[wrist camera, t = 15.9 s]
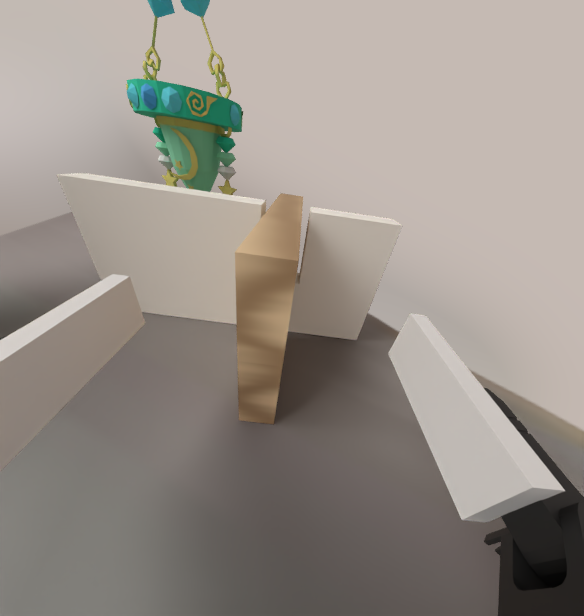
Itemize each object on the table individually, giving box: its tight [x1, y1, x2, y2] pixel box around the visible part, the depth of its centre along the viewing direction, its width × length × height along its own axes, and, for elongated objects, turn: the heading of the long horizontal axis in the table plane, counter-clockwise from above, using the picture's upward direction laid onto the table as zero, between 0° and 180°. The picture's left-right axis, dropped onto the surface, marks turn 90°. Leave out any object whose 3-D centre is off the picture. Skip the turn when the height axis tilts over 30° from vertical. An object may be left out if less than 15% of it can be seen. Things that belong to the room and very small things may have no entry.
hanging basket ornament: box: [126, 0, 243, 195], centre depth 23 cm, size 11×11×30 cm
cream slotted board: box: [57, 173, 402, 340], centre depth 20 cm, size 26×2×12 cm, turn 87°
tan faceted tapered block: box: [235, 194, 303, 424], centre depth 19 cm, size 2×18×12 cm, turn 177°
